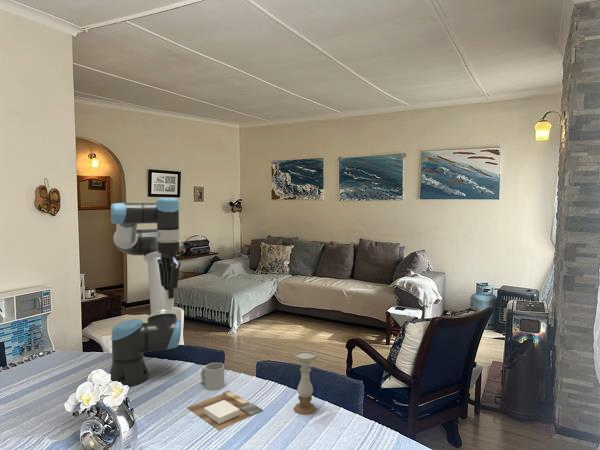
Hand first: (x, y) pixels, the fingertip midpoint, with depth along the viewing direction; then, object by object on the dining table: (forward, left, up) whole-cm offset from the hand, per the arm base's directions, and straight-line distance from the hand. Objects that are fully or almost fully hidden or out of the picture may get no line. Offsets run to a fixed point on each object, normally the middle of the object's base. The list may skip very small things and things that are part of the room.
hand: (169, 306), depth 153 cm
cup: (+2, +16, -35) cm, 38 cm away
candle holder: (+40, +29, -35) cm, 60 cm away
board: (+21, +9, -34) cm, 41 cm away
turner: (+21, +15, -33) cm, 42 cm away
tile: (+19, +6, -32) cm, 38 cm away
